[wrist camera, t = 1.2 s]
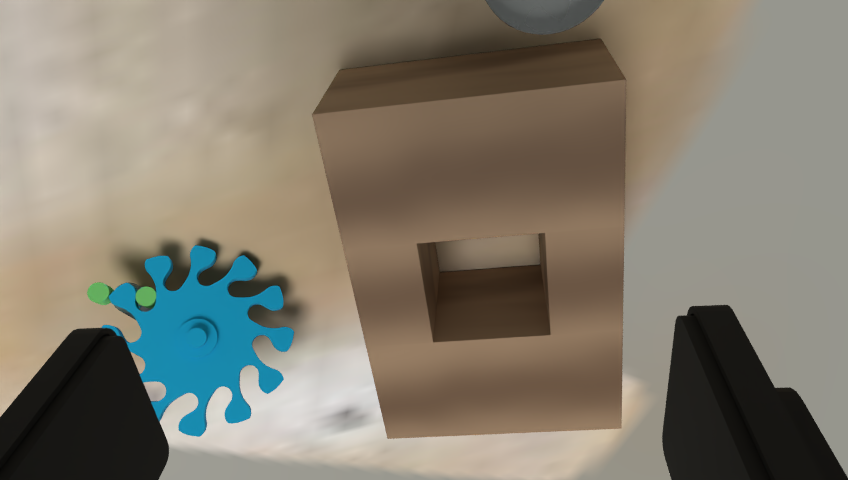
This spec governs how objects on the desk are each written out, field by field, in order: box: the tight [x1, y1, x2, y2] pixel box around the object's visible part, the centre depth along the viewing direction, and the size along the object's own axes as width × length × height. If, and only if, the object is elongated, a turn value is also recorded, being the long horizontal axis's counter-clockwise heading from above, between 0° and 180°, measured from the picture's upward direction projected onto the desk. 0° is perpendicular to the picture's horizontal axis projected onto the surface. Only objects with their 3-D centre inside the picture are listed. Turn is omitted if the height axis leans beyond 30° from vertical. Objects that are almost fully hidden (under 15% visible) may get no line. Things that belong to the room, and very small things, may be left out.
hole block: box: [312, 39, 626, 439], centre depth 32 cm, size 18×12×6 cm, turn 8°
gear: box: [87, 245, 294, 437], centre depth 37 cm, size 11×6×10 cm
